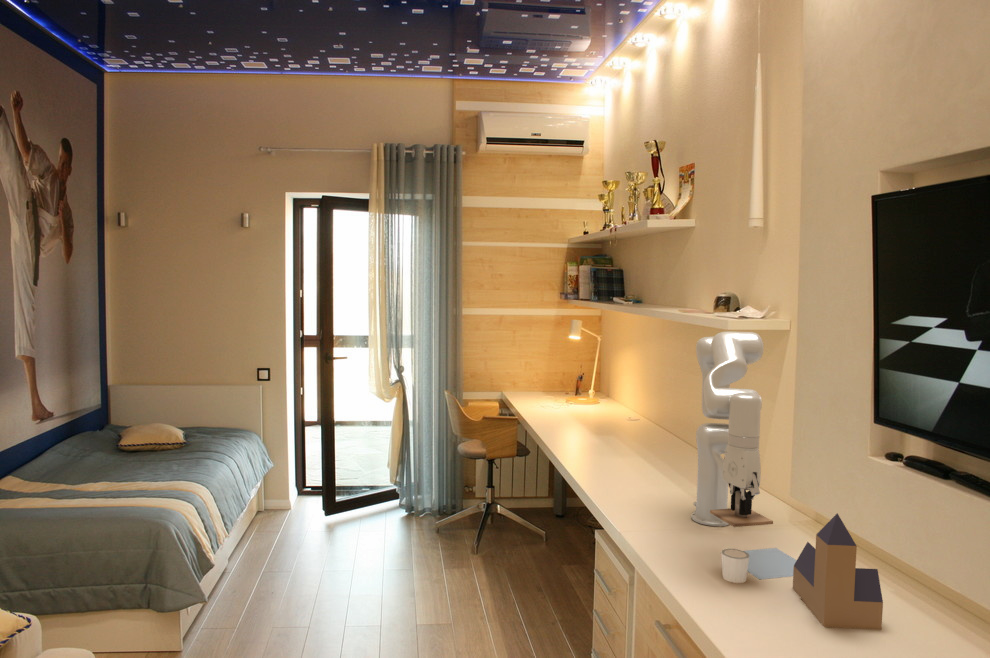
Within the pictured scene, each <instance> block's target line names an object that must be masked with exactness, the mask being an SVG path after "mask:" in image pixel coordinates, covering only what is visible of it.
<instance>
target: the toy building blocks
mask: <svg viewBox="0 0 990 658" xmlns="http://www.w3.org/2000/svg"><path fill="white" fill-rule="evenodd" d="M857 548H858V547H857V544H856V542H855V541H854V539H853V537H852V535H851V534H850V532H849V530H848V529H847V527H846V525H845V523H844V522H843V520H842V518H841V516H840V515H839V514H838V513H836V514H835V515H834V516H833V517H832V518H831V519H829V521H828V522H826V524H825V525H824V526H823V527H822V528H821V529H820V530H819V531H818V532H817V533H816V534H815V547H814V546H813V544H811V543H810V542H809V541H807V542H806V544H805V545H804V548H803V549H802V551H801V552H800V554H799V556H798V557H797V559H796V560H797V561H796V562H795V564H794V570H793V576H792V589H793V591H795V593H796V594H797V595H798V597H799V599H800V600H801V602H802V603H803V604H804V606H806V608H807V609H808V610H809V611H810V612H811V613H812V615H813V616H814V617H815V619H816V620H817V621H818V622H819V623H820V624H821V626H822V627H823V628H839V629H840V628H841V629H843V628H844V629H859V630H861V629H864V630H865V629H866V630H882V627H883V626H882V625H883V609H884V608H883V607H884V602H883V601H884V600H883V595H882V589H881V582H880V576H879V569H878V568H862V567H861V568H860V567H857V566H856V565H857V550H858V549H857Z"/></svg>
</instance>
